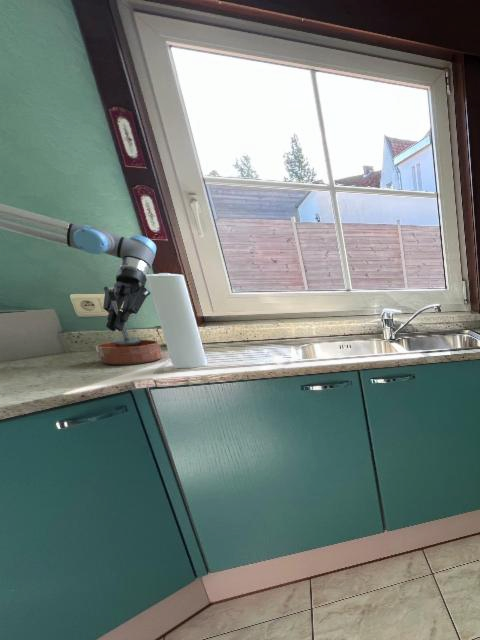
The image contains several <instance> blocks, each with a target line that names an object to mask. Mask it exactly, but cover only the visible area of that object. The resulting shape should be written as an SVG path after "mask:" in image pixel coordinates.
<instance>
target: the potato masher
mask: <svg viewBox="0 0 480 640" xmlns="http://www.w3.org/2000/svg"><path fill="white" fill-rule="evenodd" d="M107 292H108V295H109V298H110V300H111V302H112V305H113V308H114V311H115V314H116V317H117V314H118V311H121V309H119V306H118V303H117V299H116V296H115V293H114V291H107ZM120 332H121V334H122V337H121V338H114V339H112V342H114V345H115V347H116V348H120V347H134V346H142V343H141V340H142V339H141V338H140V337H130V336H129V333H128V330H127V328H126V324H124V327H123V329H122V331H120Z"/></svg>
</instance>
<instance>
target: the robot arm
mask: <svg viewBox="0 0 480 640" xmlns="http://www.w3.org/2000/svg"><path fill="white" fill-rule="evenodd" d="M0 230H3V231H7V232H10V233H15V234H18V235H22V236H27V237H30V238H34V239H38V240H41V241H46V242H50V243H53V244H58V245H61V246H64V247H65V246H66V247H68V248H72V249H77V250H81V251H83V252H85V253H87V254H93V255H101V254H105V255H108V256H112V257H116V258H118V259H121V262H120V265H119V267H118V269H117V273H116V275H115V280H116V281H115V283H114V284H113V285H112V286H111V287H108V286H103V291H104V298H103V307H102V309H103V310H104V311H105V312H106V313H108V314H107V317H106V320H107V322H106V324H105V325H106V326H105V327H106V328H108V329H109V330H110V331H111V332H116V330H117V331H118V332H121V331H122V329H123V327H124V324H125V323H127V322H128V320H129V317H130V316H131V315H132V314H134V315H137V314H138V313H139V311H140V309H141V307H142V305H143V304H144V302H145V300H146V298H147V297H148V296H150V295H151V292H150V290H148V289H147V288H146V284H147V279H146V275H150V272H151V268H152V265H153V263H154V260H155V258H156V252H157V245H156V243H155V242H154V241H153V240H151V239H150V238H149V237H147V236H143V235H137V234H134V235H131V236H130V237H129V238H127V237H124V236H120V235H118V234H115V233H112V232H109V231H107V230H103V229H100V228H98V227H95V226H90V225H87V224H80V225H79V224H76V223H72V222H68V221H65V220H61V219H57V218H55V217H50V216H46V215H43V214H39V213H36V212H33V211H29V210H26V209H21V208H18V207H14V206H11V205H7V204H5V203H4V204H3V203H1V202H0ZM107 291H114V293H115V296H116V299H117V303H118V306H119V309H120V311H118V314H117V317H116V314H115V311H114V308H113V305H112V302H111V300H110V298H109V295H108V292H107ZM125 325H126V324H125Z"/></svg>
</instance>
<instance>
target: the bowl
mask: <svg viewBox="0 0 480 640" xmlns="http://www.w3.org/2000/svg"><path fill="white" fill-rule="evenodd" d="M140 340H141V343H142V346H134V347H120V348H116V347H115V345H114V342H113V341H109V342H103V343H99V344H96V345H95V349H96V352H97V355H98V358H99V360H100V362H101V363H103V364H107V365H110V366H129V365H140V364H147V363H152V362H156V361H158V360H160V359H161V358H163V357H164V355H163V352H162V348H161V344H160V342H159V340H153V339H140Z"/></svg>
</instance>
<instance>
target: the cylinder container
mask: <svg viewBox="0 0 480 640" xmlns="http://www.w3.org/2000/svg"><path fill="white" fill-rule="evenodd" d="M146 279H147V281H146V283H147V285H148V289H149V292H150V295H151V299H152V301H153V305H154V308H155V312H156V315H157V318H158V322H159V324H160V328H161V332H162V335H163V338H164V341H165V344H166V348H167V351H168V355H169V358H170V362H171V364H172V367H173V368H174V369H193V368H201V367H205V366H207V365H208V360H207V356H206V353H205V350H204V346H203V342H202V338H201V334H200V331H199V327H198V323H197V319H196V316H195V312H194V309H193V305H192V302H191V298H190V294H189V291H188V287H187V284H186V279H185V276H184V274H179V273H169V272H159V273H152V274H150V273H149V274H148V275H146Z"/></svg>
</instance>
